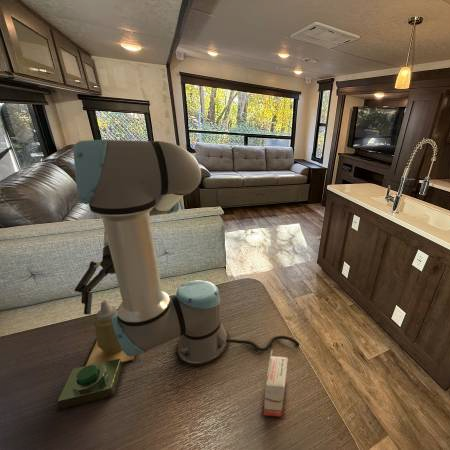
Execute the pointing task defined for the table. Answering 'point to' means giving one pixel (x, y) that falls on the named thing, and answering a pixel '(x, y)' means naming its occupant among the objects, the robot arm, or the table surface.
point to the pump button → (87, 375)
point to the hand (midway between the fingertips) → (113, 310)
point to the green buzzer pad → (91, 384)
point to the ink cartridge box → (275, 386)
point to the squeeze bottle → (106, 329)
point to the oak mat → (106, 356)
